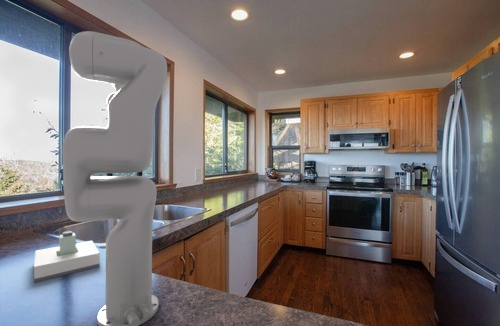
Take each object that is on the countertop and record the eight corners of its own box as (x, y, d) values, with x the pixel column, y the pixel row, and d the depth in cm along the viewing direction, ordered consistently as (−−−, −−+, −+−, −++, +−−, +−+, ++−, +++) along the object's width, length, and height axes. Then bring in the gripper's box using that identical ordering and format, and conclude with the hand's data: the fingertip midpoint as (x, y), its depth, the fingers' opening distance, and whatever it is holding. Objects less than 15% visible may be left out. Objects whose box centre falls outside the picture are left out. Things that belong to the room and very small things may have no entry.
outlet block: (99, 266, 78) (99, 252, 78) (34, 282, 68) (34, 266, 68) (92, 252, 90) (92, 240, 90) (35, 263, 80) (35, 250, 80)
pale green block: (75, 262, 79) (75, 232, 79) (60, 265, 76) (60, 234, 76) (74, 258, 82) (74, 229, 82) (59, 261, 79) (59, 232, 79)
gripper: (100, 129, 80) (100, 180, 80) (152, 134, 91) (152, 178, 91) (96, 131, 85) (96, 179, 86) (146, 135, 97) (146, 177, 97)
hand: (125, 178), depth 88 cm, fingers open, 9 cm apart
